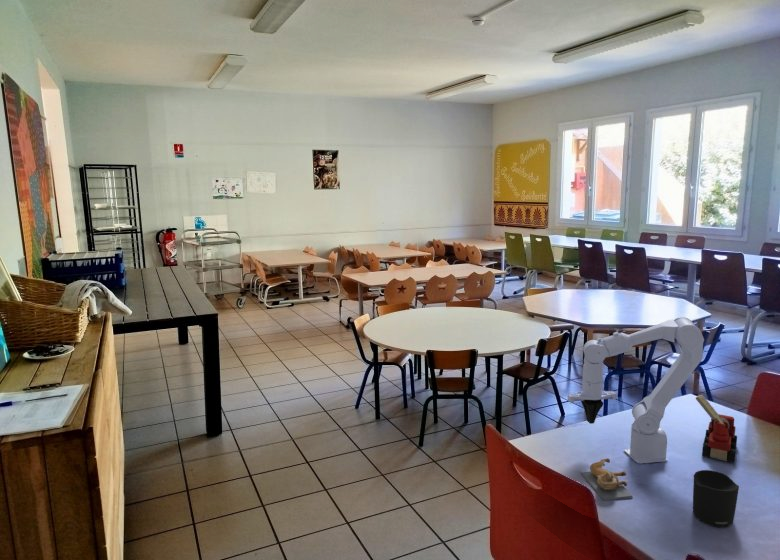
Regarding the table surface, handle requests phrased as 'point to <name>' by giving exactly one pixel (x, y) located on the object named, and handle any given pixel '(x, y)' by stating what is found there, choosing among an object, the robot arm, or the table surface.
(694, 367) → the robot arm
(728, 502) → the pen holder
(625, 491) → the rubber mat
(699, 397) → the toy fire truck
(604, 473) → the lion figurine
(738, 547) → the table surface
